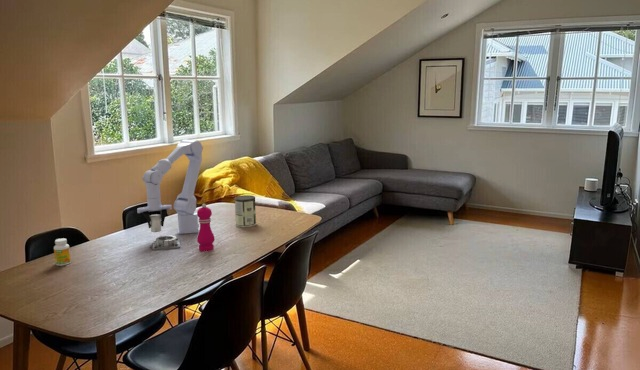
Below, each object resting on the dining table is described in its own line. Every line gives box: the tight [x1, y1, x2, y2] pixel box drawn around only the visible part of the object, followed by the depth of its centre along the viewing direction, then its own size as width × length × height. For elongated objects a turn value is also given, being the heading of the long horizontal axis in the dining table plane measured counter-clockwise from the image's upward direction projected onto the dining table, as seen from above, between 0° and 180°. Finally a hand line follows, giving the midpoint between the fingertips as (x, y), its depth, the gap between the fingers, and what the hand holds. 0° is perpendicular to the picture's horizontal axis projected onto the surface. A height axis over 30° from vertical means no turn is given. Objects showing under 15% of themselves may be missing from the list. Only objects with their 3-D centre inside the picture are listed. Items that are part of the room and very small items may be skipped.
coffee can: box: [234, 194, 257, 228], centre depth 243 cm, size 10×10×14 cm
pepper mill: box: [196, 203, 216, 252], centre depth 205 cm, size 7×7×20 cm
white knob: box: [150, 213, 162, 233], centre depth 218 cm, size 5×5×7 cm
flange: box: [152, 234, 181, 251], centre depth 212 cm, size 11×11×3 cm
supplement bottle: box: [53, 237, 72, 266], centre depth 189 cm, size 5×5×10 cm
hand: (156, 226), depth 218 cm, fingers closed on white knob, 5 cm apart
